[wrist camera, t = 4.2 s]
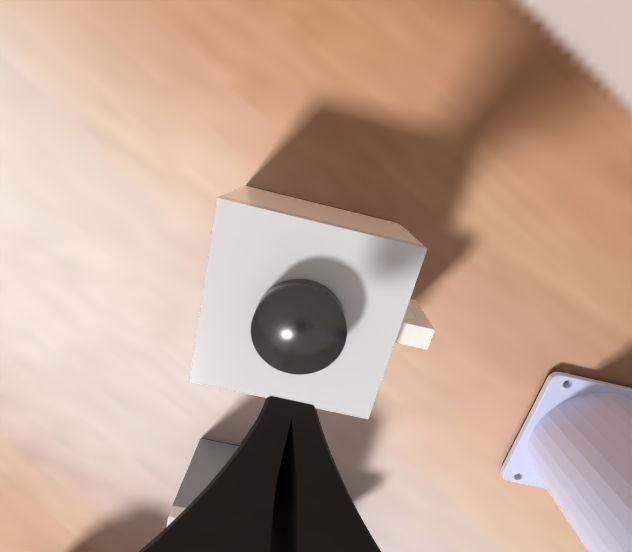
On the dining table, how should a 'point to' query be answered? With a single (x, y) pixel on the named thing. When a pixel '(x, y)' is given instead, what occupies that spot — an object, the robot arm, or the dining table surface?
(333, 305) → the doorknob dark gray
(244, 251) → the press white
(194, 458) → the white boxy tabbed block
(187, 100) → the dining table surface
